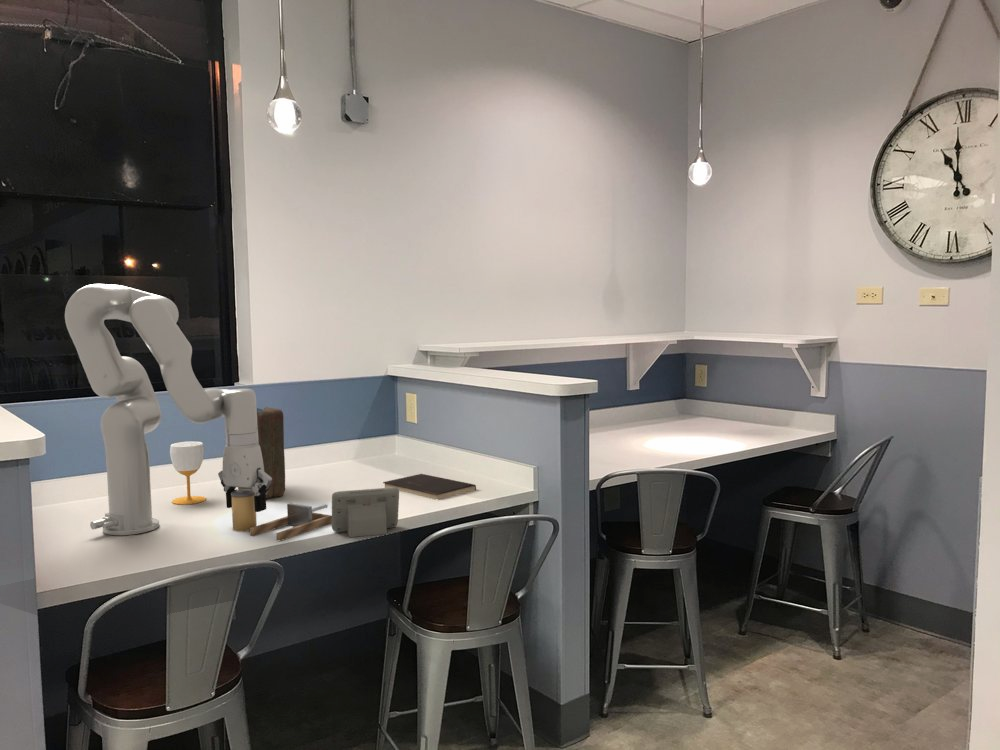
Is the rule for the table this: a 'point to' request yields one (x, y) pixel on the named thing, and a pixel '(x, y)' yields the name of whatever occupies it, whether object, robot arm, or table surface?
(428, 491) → the hardcover book
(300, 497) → the table surface
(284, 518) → the lane
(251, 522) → the jar
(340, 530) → the digital clock
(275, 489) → the canister
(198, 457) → the cup
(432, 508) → the table surface
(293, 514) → the pusher
